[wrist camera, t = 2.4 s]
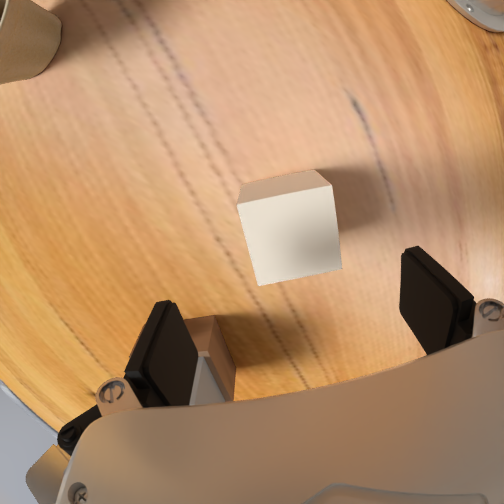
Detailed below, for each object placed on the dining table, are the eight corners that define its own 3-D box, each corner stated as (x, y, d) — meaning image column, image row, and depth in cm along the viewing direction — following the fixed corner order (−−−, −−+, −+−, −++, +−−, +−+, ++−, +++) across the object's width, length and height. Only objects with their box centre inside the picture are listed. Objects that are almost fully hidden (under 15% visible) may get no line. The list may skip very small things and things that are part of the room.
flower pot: (96, -8, 12) (31, -42, 4) (60, 98, 16) (-21, 104, 8) (23, 7, 11) (-38, -5, 3) (-3, 97, 15) (-70, 108, 7)
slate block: (203, 356, 20) (194, 404, 16) (225, 400, 23) (220, 442, 19) (136, 360, 21) (119, 402, 17) (164, 402, 23) (154, 440, 19)
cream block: (313, 169, 18) (331, 185, 14) (324, 235, 21) (342, 268, 16) (241, 184, 19) (236, 204, 15) (258, 249, 21) (258, 286, 17)
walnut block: (214, 313, 24) (207, 350, 20) (236, 366, 27) (233, 402, 23) (144, 323, 25) (129, 356, 21) (173, 372, 28) (163, 405, 24)
